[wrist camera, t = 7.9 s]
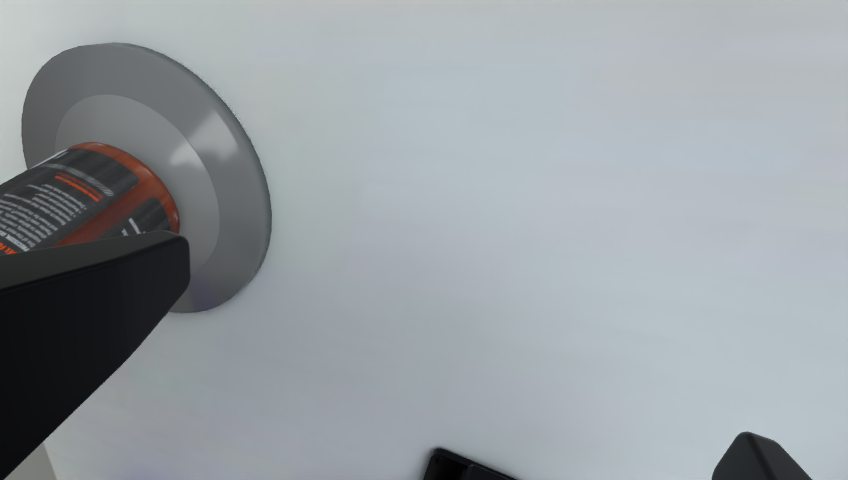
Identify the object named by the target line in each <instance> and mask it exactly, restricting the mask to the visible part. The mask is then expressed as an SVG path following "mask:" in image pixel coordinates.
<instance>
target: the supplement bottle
mask: <svg viewBox="0 0 848 480" xmlns="http://www.w3.org/2000/svg"><path fill="white" fill-rule="evenodd" d="M179 229H180V220H179V212H178V209H177V207H176V203H175V202H174V200H173V197H172V195H171V194H170V192H169V191H168V189H167V188H166V186H165V185H164V184H163V182H162V181H161V179H160V178H159V177H158V176H157V175H156V174H155V173H154V172H153V171H152V170H151V169H150V168H149V167H148V166H147V165H145V164H144V163H143V162H141V161H140V160H139V159H137V158H136V157H134V156H133V155H131V154H129V153H127V152H125V151H123V150H121V149H119V148H117V147H114V146H111V145H108V144H103V143H98V142H85V143H81V144H77V145H73V146H71V147H69V148H67V149H66V150H63V151H61V152H58V153H57V154H55V155H53V156H52V157H50V158H48V159H46V160H44V161H43V162H41V163H39V164H37V165H35V166H34V167H32V168H30V169H28V170H26V171H25V172H23V173H21V174H19V175H17V176H16V177H14V178H12V179H10V180H9V181H7V182H5V183H3V184H1V185H0V255H5V254H11V253H18V252H24V251H31V250H37V249H43V248H50V247H56V246H63V245H69V244H76V243H82V242H88V241H95V240H101V239H108V238H114V237H120V236H127V235H133V234H140V233H146V232H152V231H159V230H167V231H170V232H173V233H176V234H179Z"/></svg>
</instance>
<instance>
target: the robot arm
mask: <svg viewBox="0 0 848 480" xmlns="http://www.w3.org/2000/svg"><path fill="white" fill-rule="evenodd" d="M190 279H191V268H190V245H189V242H188V240H187V238H185V237H184V236H182V235H179V234H176V233H173V232H170V231H167V230H159V231H152V232H146V233H140V234H133V235H127V236H120V237H114V238H108V239H101V240H95V241H88V242H82V243H76V244H69V245H63V246H56V247H50V248H43V249H37V250H31V251H24V252H18V253H11V254H5V255H0V480H4V479H5V478H6V477H7V476H8V475H9V474H10V473H11V472H12V471H13V470H14V469H15V468H16V467H17V466H18V465H19V464H20V463H21V462H23V461H24V459H26V458H27V457H28V456H29V455H30V454H31V453H32V452H33V451H34V450H35V449H36V448H37V447H38V446H39V445H40V444H41V443H42V442H43V441H44V440H45V439H46V438H47V437H48V436H49V435H50V434H51V433H52V432H53V431H54V430H55V429H56V428H57V427H59V426H60V425H61V424H62V423H63V422H64V421H65V420H66V419H67V418H68V417H69V416H70V415H71V414H72V413H73V412H74V411H75V410H76V409H77V408H78V407H79V406H80V405H81V404H82V403H83V402H84V401H85V400H86V399H87V398H88V397H89V396H90V395H91V394H92V393H93V392H94V391H96V390H97V389H98V388H99V387H100V386H101V385H102V384H103V383H104V382H105V381H106V380H107V379H108V378H109V377H110V376H111V375H112V374H113V373H114V372H115V371H116V370H117V369H118V368H119V367H120V366H121V365H122V364H123V363H124V362H125V361H126V360H127V359H128V358H129V357H130V356H131V355H132V354H133V352H134V351H135V350H136V349H137V348H138V347H139V346H140V345H141V343H142V342H143V341H144V340H145V339H146V337H147V336H148V335H149V334H150V333H151V331H152V330H153V329H154V328H155V327H156V326H157V324H158V323H159V322H160V321H161V320H162V318H163V317H164V316H165V315H166V314H167V313H168V311H169V310H170V309H171V308H172V307H173V305H174V304H175V303H176V302H177V301H178V300H179V298H180V297H181V296H182V295H183V294H184V292H185V291H186V289H187V288H188V286H189V283H190ZM440 458H441V459H440ZM423 480H516V479H514V478H512V477H509V476H507V475H504V474H502V473H500V472H497V471H495V470H493V469H490V468H488V467H485V466H483V465H481V464H478V463H476V462H473V461H471V460H469V459H466V458H464V457H462V456H459V455H457V454H454V453H452V452H450V451H447V450H445V449H441V448H437V449H435V450H434V451H433V453H432V456H431V458H430V461H429V464H428V467H427V470H426V473H425V476H424V479H423ZM712 480H812V479H811V478H810V477H809V476H808V475H807V474H806V472H805V471H804V470H803V469H802V468H801V467H800V466H799V465H798V464H797V463H796V462H795V461H794V460H793V459H792V458H791V456H790V455H789V454H788V453H787V452H786V451H785V450H784V449H783V448H782V447H781V446H780V445H779V444H778V443H777V442H775V441H774V440H771V439H768V438H765V437H763V436H760V435H757V434H754V433H751V432H742V433H740V434H739V435H738V436H737V437H736V438H735V440H734V441H733V443H732V444H731V445H730V447H729V448H728V450H727V451H726V453H725V454H724V456H723V457H722V459H721V460H720V462H719V463H718V464H717V466H716V468H715V470H714V472H713V475H712Z"/></svg>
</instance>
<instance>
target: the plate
mask: <svg viewBox="0 0 848 480" xmlns="http://www.w3.org/2000/svg"><path fill="white" fill-rule="evenodd" d="M85 142H98V143H103V144H108V145H111V146H114V147H117V148H119V149H121V150H123V151H125V152H127V153H129V154H131V155H133V156H134V157H136V158H137V159H139V160H140V161H141V162H143V163H144V164H145V165H147V166H148V167H149V168H150V169H151V170H152V171H153V172H154V173H155V174H156V175H157V176H158V177H159V178H160V179H161V181H162V182H163V184H164V185H165V186H166V188H167V189H168V191H169V192H170V194H171V195H172V197H173V200H174V202H175V203H176V207H177V209H178V212H179V220H180V229H179V235H182V236H184V237H185V238H187V240H188V242H189V245H190V268H191V279H190V283H189V286H188V288H187V289H186V291H185V292H184V294H183V295H182V296H181V297H180V298H179V300H178V301H177V302H176V303H175V304H174V305H173V307H172V308H171V309H170V310H169V312H179V313H192V312H200V311H205V310H209V309H211V308H214V307H217V306H219V305H221V304H223V303H224V302H226V301H227V300H229V299H230V298H232V297H233V296H234V295H235V294H236V293H238V292H239V291H240V290H241V289H242V288H243V287H245V286H246V285H247V284H248V283H249V282H250V281H251V280H252V279H253V277H254V276H255V275H256V273H257V272H258V271H259V269H260V267H261V265H262V263H263V261H264V259H265V256H266V253H267V250H268V247H269V242H270V235H271V221H272V212H271V203H270V195H269V191H268V186H267V182H266V178H265V175H264V172H263V169H262V166H261V163H260V160H259V158H258V156H257V154H256V151H255V149H254V147H253V145H252V143H251V141H250V139H249V137H248V136H247V134H246V132H245V131H244V129H243V127H242V126H241V124H240V122H239V121H238V120H237V118H236V117H235V116H234V114H233V113H232V111H231V110H230V109H229V107H228V106H227V105H226V104H225V103H224V102H223V100H222V99H221V98H220V97H219V96H218V95H217V94H216V93H215V92H214V91H213V89H211V88H210V87H209V86H208V85H207V84H206V83H205V82H204V81H202V80H201V79H200V78H199V77H198V76H197V75H195V74H194V73H193V72H191V71H190V70H188V69H187V68H186V67H184V66H183V65H182V64H180V63H178V62H176V61H175V60H173V59H171V58H169V57H167V56H165V55H164V54H161V53H159V52H156V51H154V50H151V49H148V48H146V47H141V46H137V45H133V44H127V43H104V44H95V45H86V46H78V47H75V48H72V49H69V50H65V51H63V52H62V53H60V54H58V55H56V56H54V57H53V58H51V59H50V60H49V61H48V62H47V63H46V64H45V65H44V66H42V68H41V69H40V70H39V72H38V73H37V74H36V76H35V77H34V79H33V81H32V83H31V85H30V87H29V89H28V91H27V95H26V98H25V102H24V106H23V113H22V144H23V152H24V157H25V161H26V166H27V169H30V168H32V167H34V166H35V165H37V164H39V163H41V162H43V161H44V160H46V159H48V158H50V157H52V156H53V155H55V154H57V153H58V152H61V151H63V150H66V149H67V148H69V147H71V146H73V145H77V144H81V143H85Z"/></svg>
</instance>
